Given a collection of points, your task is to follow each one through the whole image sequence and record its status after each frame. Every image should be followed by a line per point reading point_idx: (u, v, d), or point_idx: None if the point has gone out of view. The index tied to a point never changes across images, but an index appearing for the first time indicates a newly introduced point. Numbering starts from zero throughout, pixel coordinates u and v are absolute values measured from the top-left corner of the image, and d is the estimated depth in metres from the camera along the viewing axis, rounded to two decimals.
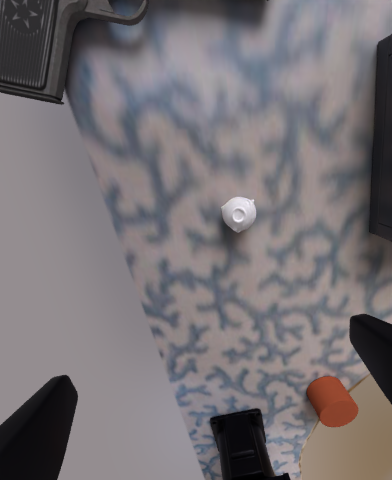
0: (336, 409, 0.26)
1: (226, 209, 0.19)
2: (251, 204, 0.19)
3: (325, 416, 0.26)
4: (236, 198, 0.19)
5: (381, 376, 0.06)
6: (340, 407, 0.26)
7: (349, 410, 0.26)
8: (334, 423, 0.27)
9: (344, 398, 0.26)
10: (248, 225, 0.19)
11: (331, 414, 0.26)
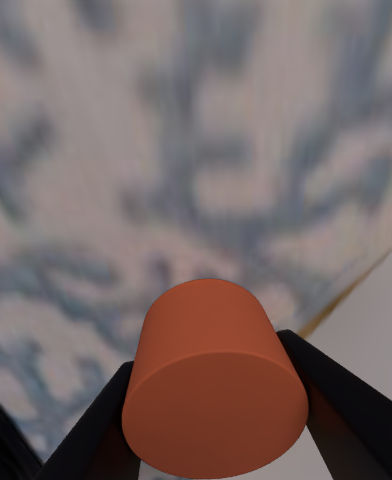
0: (196, 400, 0.05)
1: None
2: None
3: (151, 434, 0.05)
4: None
5: None
6: (216, 393, 0.05)
7: (263, 404, 0.05)
8: (206, 464, 0.06)
9: (229, 344, 0.05)
10: None
11: (176, 425, 0.05)
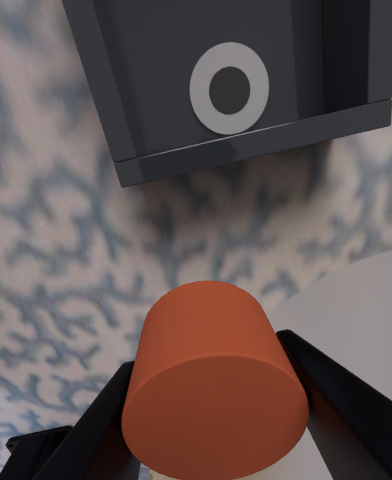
0: (196, 404, 0.05)
1: None
2: None
3: (151, 437, 0.05)
4: None
5: None
6: (216, 396, 0.05)
7: (263, 407, 0.05)
8: (206, 467, 0.06)
9: (229, 347, 0.05)
10: None
11: (177, 428, 0.05)
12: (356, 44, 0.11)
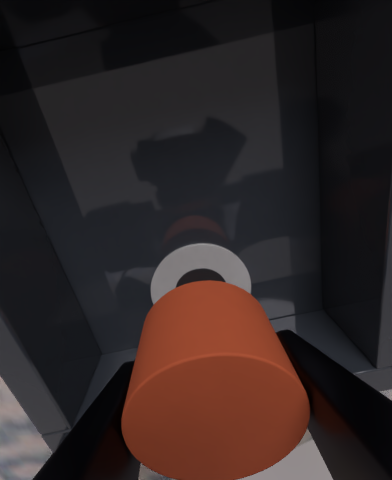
0: (196, 404, 0.05)
1: None
2: None
3: (151, 438, 0.05)
4: None
5: None
6: (216, 396, 0.05)
7: (264, 407, 0.05)
8: (206, 468, 0.06)
9: (229, 347, 0.05)
10: None
11: (177, 428, 0.05)
12: (363, 293, 0.08)
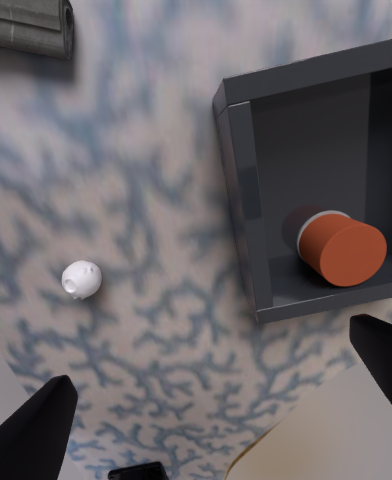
0: (348, 245, 0.15)
1: (62, 277, 0.17)
2: (87, 272, 0.17)
3: (329, 261, 0.15)
4: (73, 264, 0.17)
5: (381, 376, 0.06)
6: (356, 242, 0.15)
7: (371, 248, 0.15)
8: (344, 277, 0.16)
9: (362, 224, 0.15)
10: (86, 294, 0.17)
11: (339, 256, 0.15)
12: None
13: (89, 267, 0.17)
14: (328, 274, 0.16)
